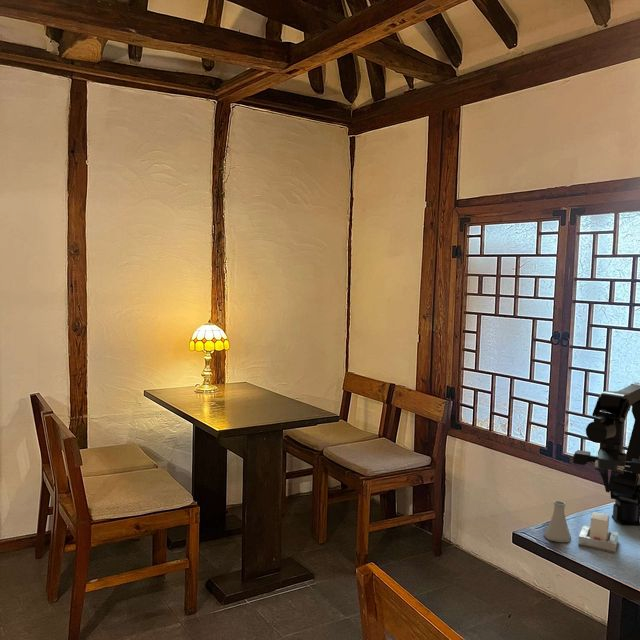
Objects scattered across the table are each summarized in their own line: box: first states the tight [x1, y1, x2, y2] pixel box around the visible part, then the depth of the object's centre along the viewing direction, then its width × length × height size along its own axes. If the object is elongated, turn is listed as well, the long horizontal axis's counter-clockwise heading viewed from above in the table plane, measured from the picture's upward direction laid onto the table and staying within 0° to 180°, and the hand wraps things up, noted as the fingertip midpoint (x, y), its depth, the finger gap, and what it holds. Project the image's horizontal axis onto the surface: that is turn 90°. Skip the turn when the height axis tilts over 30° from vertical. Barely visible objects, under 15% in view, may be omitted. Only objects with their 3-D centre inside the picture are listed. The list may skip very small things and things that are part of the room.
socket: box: [577, 524, 619, 554], centre depth 174 cm, size 9×9×3 cm
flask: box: [543, 500, 572, 543], centre depth 177 cm, size 7×7×10 cm
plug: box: [589, 511, 610, 541], centre depth 174 cm, size 6×4×7 cm
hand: (607, 492), depth 180 cm, fingers closed
